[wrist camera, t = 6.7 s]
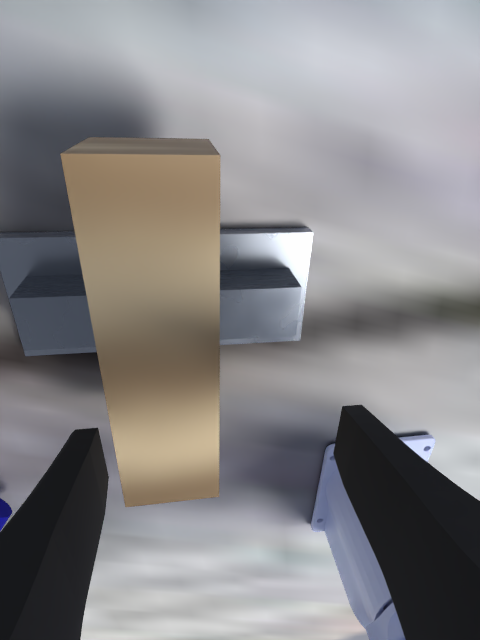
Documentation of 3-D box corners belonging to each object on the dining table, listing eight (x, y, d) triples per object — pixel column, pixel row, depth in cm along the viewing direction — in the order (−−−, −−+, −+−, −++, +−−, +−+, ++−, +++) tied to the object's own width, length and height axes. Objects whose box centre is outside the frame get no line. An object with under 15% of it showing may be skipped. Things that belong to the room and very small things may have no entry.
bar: (211, 429, 21) (219, 496, 17) (133, 436, 20) (125, 507, 17) (208, 138, 14) (220, 155, 10) (89, 137, 13) (60, 153, 10)
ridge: (295, 332, 22) (312, 364, 20) (30, 347, 20) (10, 384, 18) (308, 227, 19) (329, 248, 17) (-3, 232, 17) (-33, 257, 15)
